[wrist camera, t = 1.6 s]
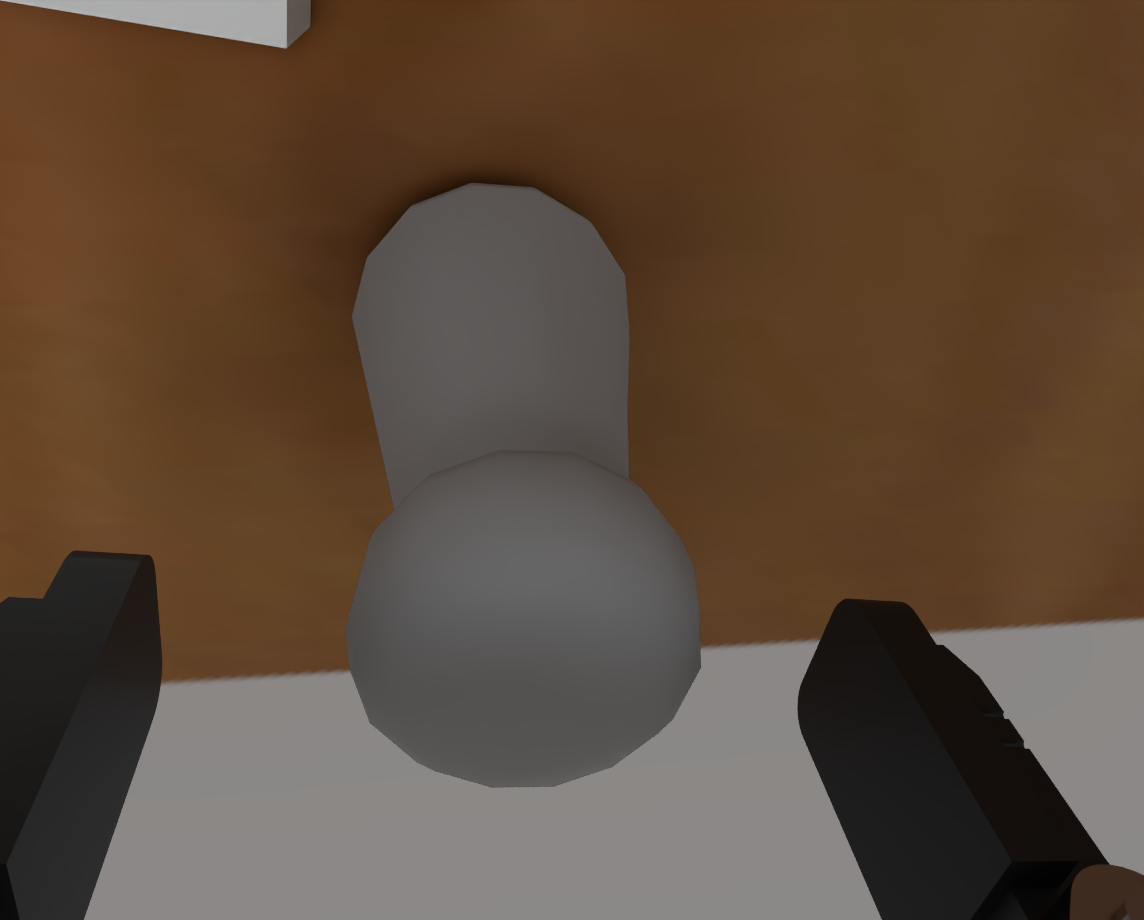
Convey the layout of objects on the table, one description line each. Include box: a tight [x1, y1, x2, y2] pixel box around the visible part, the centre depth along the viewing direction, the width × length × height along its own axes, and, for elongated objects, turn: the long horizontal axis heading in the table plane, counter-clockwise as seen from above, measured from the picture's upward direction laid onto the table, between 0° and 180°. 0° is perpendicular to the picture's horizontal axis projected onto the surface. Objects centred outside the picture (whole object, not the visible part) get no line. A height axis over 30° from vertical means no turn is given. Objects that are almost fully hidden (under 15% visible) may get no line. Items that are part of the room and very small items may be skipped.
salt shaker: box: [345, 183, 701, 788], centre depth 15 cm, size 6×6×13 cm
